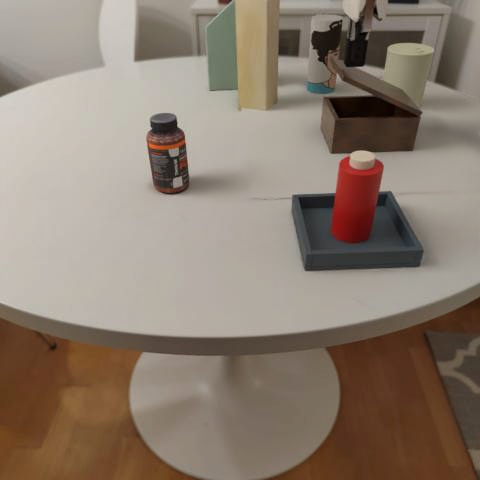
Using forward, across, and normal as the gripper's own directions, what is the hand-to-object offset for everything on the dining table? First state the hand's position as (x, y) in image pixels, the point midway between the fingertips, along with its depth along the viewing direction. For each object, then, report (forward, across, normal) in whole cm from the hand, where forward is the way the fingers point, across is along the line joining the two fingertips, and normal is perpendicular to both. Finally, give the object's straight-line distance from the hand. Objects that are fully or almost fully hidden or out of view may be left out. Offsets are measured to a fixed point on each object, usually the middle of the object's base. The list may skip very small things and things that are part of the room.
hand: (353, 65), depth 77 cm
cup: (+14, +31, -1) cm, 34 cm away
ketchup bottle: (+13, -30, +5) cm, 33 cm away
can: (+14, +18, -16) cm, 28 cm away
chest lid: (+4, 0, -4) cm, 5 cm away
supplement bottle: (+14, -14, +31) cm, 37 cm away
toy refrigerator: (+14, +21, +15) cm, 29 cm away
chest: (+14, 0, -4) cm, 14 cm away
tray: (+14, -30, +5) cm, 33 cm away
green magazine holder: (+14, +37, +18) cm, 44 cm away
